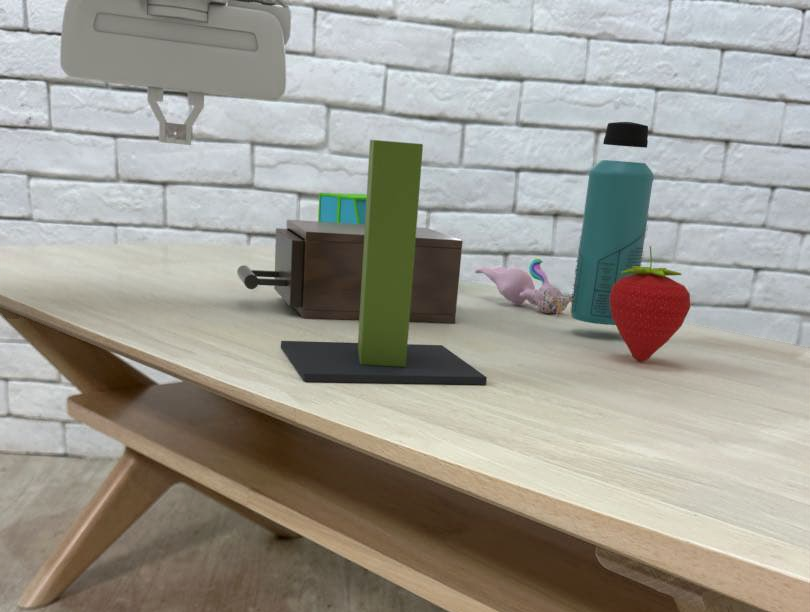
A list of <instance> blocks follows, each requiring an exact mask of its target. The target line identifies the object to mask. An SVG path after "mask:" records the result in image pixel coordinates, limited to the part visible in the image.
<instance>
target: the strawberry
mask: <svg viewBox="0 0 810 612" xmlns="http://www.w3.org/2000/svg"><path fill="white" fill-rule="evenodd" d="M652 256H653V255H652V246H651V245H649V257H650V259H649V261H650V263H649V266H633V267H632V268H633V269H626V271H622V272H621V273H625V274H635V275H631V276H627V277H623V278H620V279H619V280H618V281H617V282H616V283H615V284H614V285H613V288H612V291H611V293H610V296H609V299H610V307H611V315H612V318H613V320H614V322H615V324H616V325H615V326H616V329H617V331H618V333H619V335H620V337H621V338H622V340H623V342H624V343H625V345H626V346H627V348H628V350H629V352H630V354H631V356H632V358H633V359H634V360H635V361H637V362H645V361H648V360H649V359H651V357H652V356H653V355H654V354H655V353H656V352H657V351H659V349H661V348H662V347H663V346H664V345H665V344H666V343H667V342H668V341H669V340H670V339H671V338H672V337H673V336H674V335H675V334H676V333H677V332H678V331H679V329H681V327H682V326H683V324H684V322H685V320H686V318H687V315H688V313H689V311H690V309H691V294H690V292H689V290H688V289H687V288H686V286H685V285H684V284H681V283H680V282H679V281H676V280H674V279H672V278H670V277H668V276H682V273H681V272H678V271H675V270H671V269H667V267H653V268H652V264H653V263H652V262H653V257H652Z"/></svg>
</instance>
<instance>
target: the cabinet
mask: <svg viewBox="0 0 810 612" xmlns="http://www.w3.org/2000/svg"><path fill="white" fill-rule="evenodd" d="M285 229H287V230H289V231H290V232H292V233H293V234H295V235H296V236H298V237H299V238H300V236H301V237H302V238H304V239H305V240H304V266H303V292H302V307H293V309H294V310H295V311H296V312H297V313H298V314H299V316H300V317H301V318H302V319H319V320H320V319H325V320H353V321H354V320H355V321H359V317H360V300H361V283H362V267H363V250H364V233H365V224H351V223H335V222H318V220H317V221H315V220H302V219H301V220H300V219H286V228H285ZM463 242H464V241H463V240H462V239H459V238H456V237H454V236H451V235H448V234H445V233H443V232H440V231H437V230H435V229H431V228H429V227H418V226H417V228H416V241H415V254H414V267H413V280H412V292H411V305H410V318H409V323H410V322H411V323H416V322H417V323H438V324H442V323H443V324H455V323H456V316H457V307H458V306H457V304H458V295H459V283H460V273H461V272H460V271H461V263H462V252H463Z"/></svg>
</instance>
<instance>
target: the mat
mask: <svg viewBox="0 0 810 612" xmlns="http://www.w3.org/2000/svg"><path fill="white" fill-rule="evenodd" d="M280 349H281V350H282V352H283V353H284V354H285V356H286V358H287V359H288V360H289V362H290V364H291V365H292V366H293V368H294V369H295V370H296V372H297V373H298V375H299V377H300V378H301V379H302V380H303V382H306V383H307V382H308V383H309V382H312V383H317V382H318V383H361V384H362V383H364V384H365V383H367V384H368V383H370V384H372V383H373V384H425V385H426V384H428V385H478V386H479V385H481V386H482V385H483V386H485V385H487V380H488V377H487V376H486V375H484V374H483V373H482V372H480V371H479V370H477V368H475V367H473V366H472V365H471V364H469V363H468V362H467V361H465V360H464V359H462V358H461V357H459V356H458V355H457V354H455V353H454V352H452V351H451V350H449V349H448V348H447V347H445V346H444V345H442V344H417V343H416V344H413V343H410V344H409V343H408V344H407V357H406V367H390V366H374V365H361V364H360V359H359V353H358V342H341V341H340V342H339V341H309V340H308V341H304V340H281V341H280Z"/></svg>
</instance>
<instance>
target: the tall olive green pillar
mask: <svg viewBox="0 0 810 612" xmlns="http://www.w3.org/2000/svg"><path fill="white" fill-rule="evenodd" d="M423 149H424V145H423V143H415V142H403V141H393V140H381V139H379V140H378V139H370V140H369V149H368V166H367V167H368V168H367V184H366V194H367V199H366V216H365V233H364V250H363V267H362V283H361V300H360V317H359V320H358V333H357V335H358V338H357V343H358V353H359V359H360V364H361V365H374V366H390V367H406V357H407V344H409V343H408V341H409V328H410V322H409V318H410V305H411V292H412V280H413V267H414V254H415V241H416V228H417V227H418V214H419V202H420V200H419V199H420V187H421V174H422V162H423V151H424V150H423Z"/></svg>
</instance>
